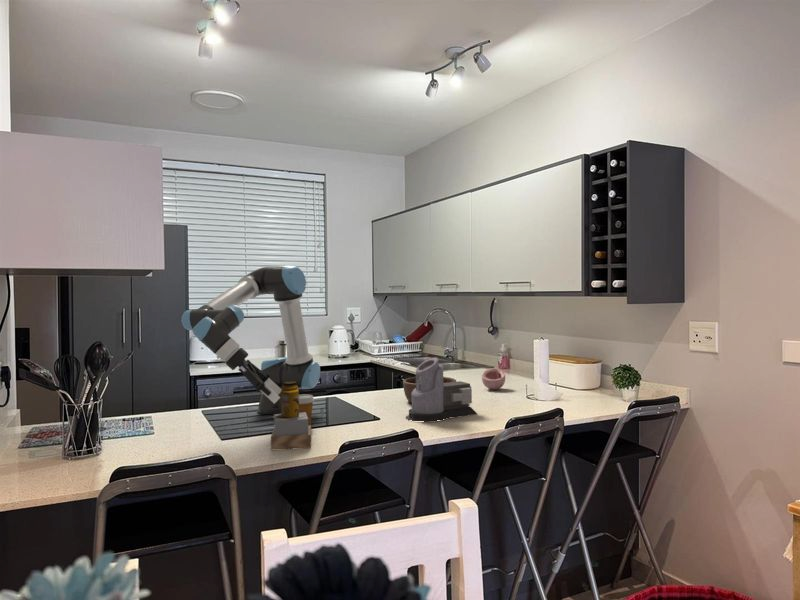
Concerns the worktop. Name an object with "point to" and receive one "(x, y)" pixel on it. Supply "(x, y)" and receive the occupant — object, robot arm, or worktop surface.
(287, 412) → the condiment
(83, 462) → the worktop surface
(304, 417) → the grey square block
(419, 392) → the juicer
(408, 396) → the wooden bowl
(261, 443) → the worktop surface
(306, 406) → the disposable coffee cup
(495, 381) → the mortar and pestle
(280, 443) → the walnut base block
